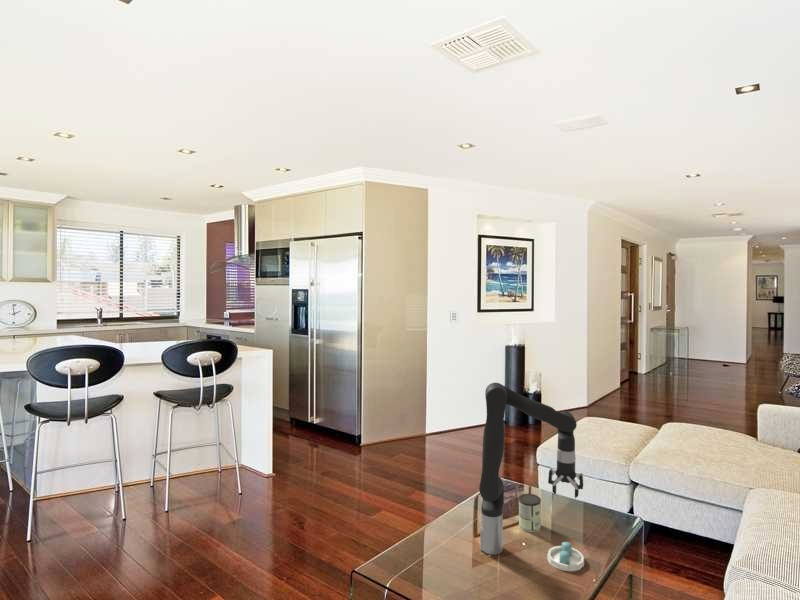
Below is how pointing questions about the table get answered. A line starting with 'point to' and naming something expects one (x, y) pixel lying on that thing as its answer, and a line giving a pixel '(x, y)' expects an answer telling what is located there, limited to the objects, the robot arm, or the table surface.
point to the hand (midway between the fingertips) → (565, 495)
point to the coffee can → (529, 512)
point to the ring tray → (575, 559)
